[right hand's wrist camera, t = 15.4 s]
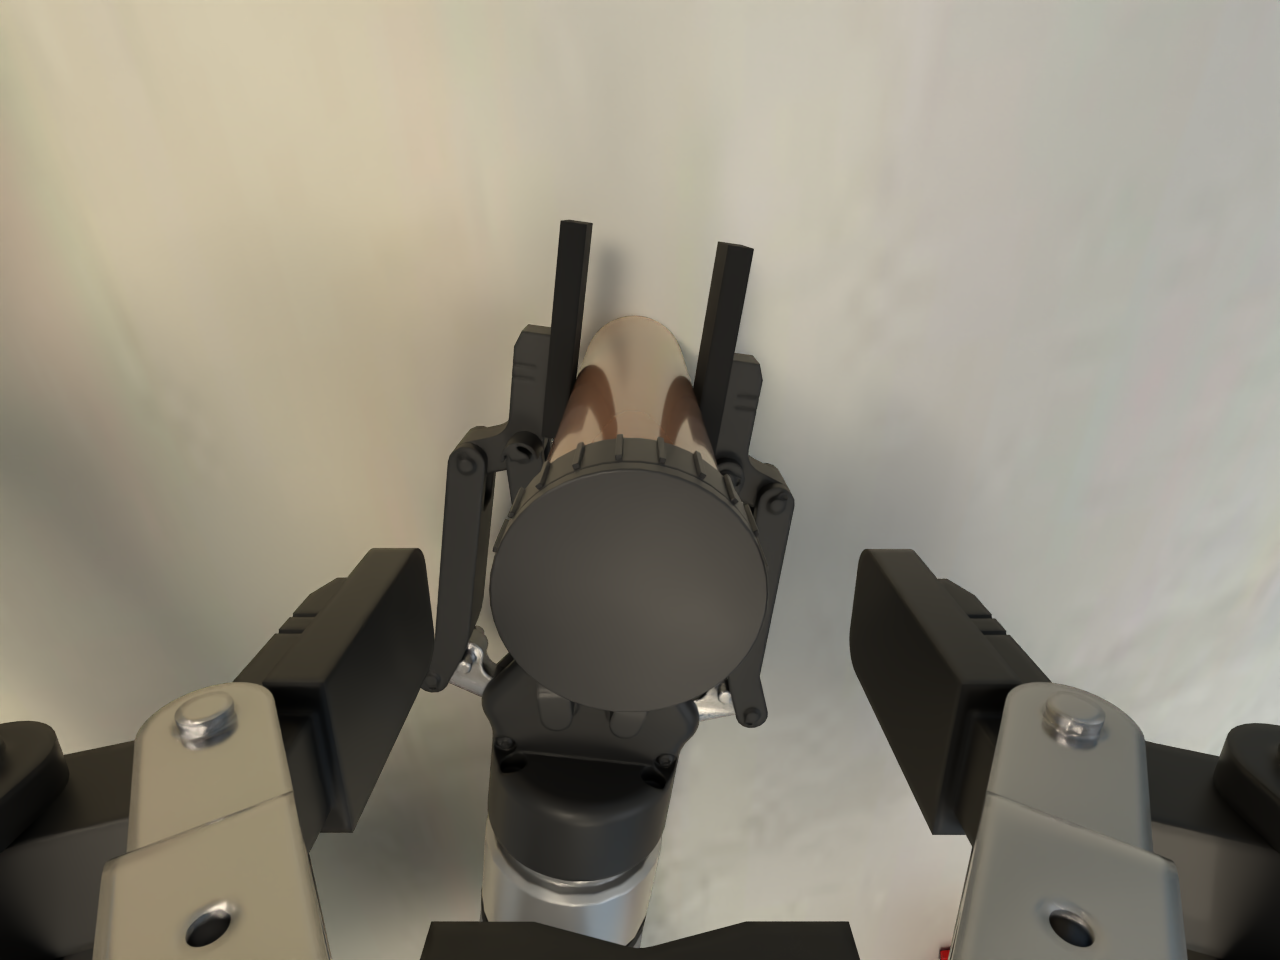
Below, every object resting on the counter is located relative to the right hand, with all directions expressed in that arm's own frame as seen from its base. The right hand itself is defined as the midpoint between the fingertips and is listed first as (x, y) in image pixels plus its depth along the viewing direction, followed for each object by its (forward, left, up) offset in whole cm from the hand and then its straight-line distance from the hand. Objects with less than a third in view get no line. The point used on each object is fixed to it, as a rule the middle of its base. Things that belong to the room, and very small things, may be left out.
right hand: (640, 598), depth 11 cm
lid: (0, 0, 0) cm, 0 cm away
